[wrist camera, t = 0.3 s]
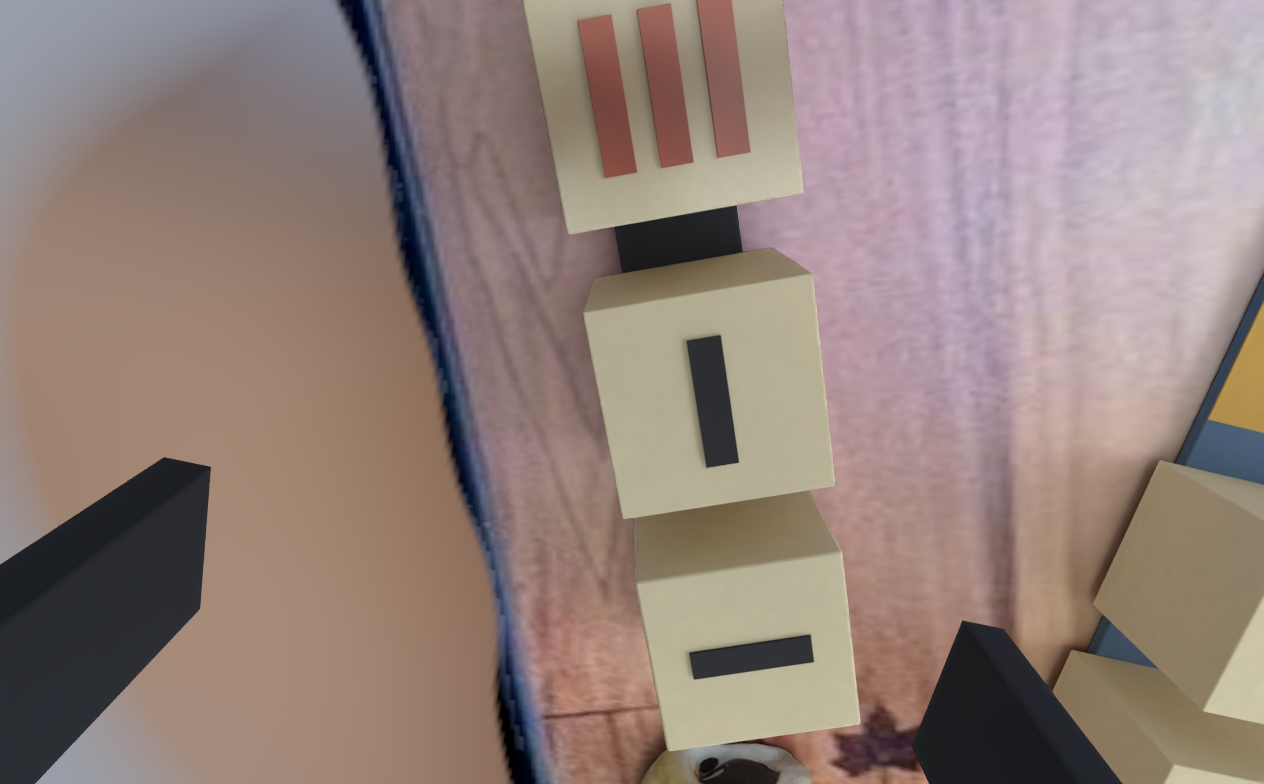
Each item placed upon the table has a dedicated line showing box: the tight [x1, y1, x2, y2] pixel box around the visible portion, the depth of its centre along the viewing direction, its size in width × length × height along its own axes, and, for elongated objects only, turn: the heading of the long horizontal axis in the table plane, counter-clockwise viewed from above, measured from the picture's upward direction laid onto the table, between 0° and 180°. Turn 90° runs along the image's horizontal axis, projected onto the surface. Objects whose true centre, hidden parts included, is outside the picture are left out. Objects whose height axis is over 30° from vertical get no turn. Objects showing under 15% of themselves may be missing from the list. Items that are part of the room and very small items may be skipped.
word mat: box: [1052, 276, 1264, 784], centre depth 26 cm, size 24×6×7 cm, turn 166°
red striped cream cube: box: [522, 0, 804, 235], centre depth 22 cm, size 6×6×6 cm
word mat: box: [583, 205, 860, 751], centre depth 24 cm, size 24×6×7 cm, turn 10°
